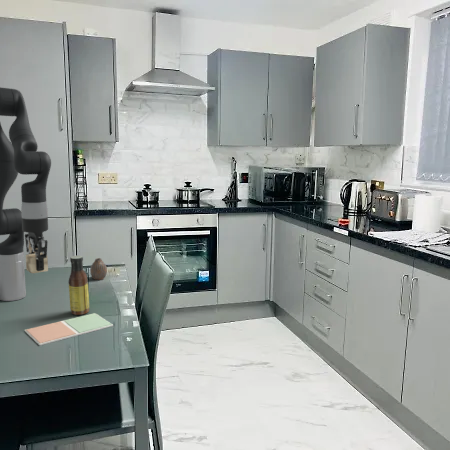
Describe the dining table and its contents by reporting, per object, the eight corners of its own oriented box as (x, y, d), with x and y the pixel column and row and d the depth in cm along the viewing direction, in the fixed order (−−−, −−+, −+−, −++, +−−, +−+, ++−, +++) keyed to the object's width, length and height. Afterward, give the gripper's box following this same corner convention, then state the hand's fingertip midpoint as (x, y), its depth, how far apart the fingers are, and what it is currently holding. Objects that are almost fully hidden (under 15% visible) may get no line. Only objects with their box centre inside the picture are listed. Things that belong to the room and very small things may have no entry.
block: (26, 269, 143) (25, 254, 142) (42, 267, 146) (41, 252, 145) (31, 273, 139) (31, 258, 138) (48, 270, 142) (47, 255, 141)
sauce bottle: (82, 307, 158) (81, 253, 154) (93, 312, 154) (91, 256, 150) (66, 312, 153) (63, 256, 149) (76, 317, 149) (74, 259, 145)
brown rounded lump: (90, 276, 195) (89, 257, 193) (106, 275, 197) (106, 256, 195) (90, 281, 188) (90, 261, 187) (107, 280, 190) (107, 260, 189)
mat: (24, 331, 137) (24, 329, 137) (95, 314, 152) (95, 312, 152) (39, 345, 128) (39, 343, 127) (113, 326, 143) (113, 324, 143)
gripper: (55, 218, 137) (57, 271, 140) (39, 211, 147) (41, 261, 150) (30, 220, 132) (32, 275, 135) (14, 213, 142) (17, 265, 145)
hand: (37, 268), depth 142 cm, fingers closed on block, 5 cm apart
